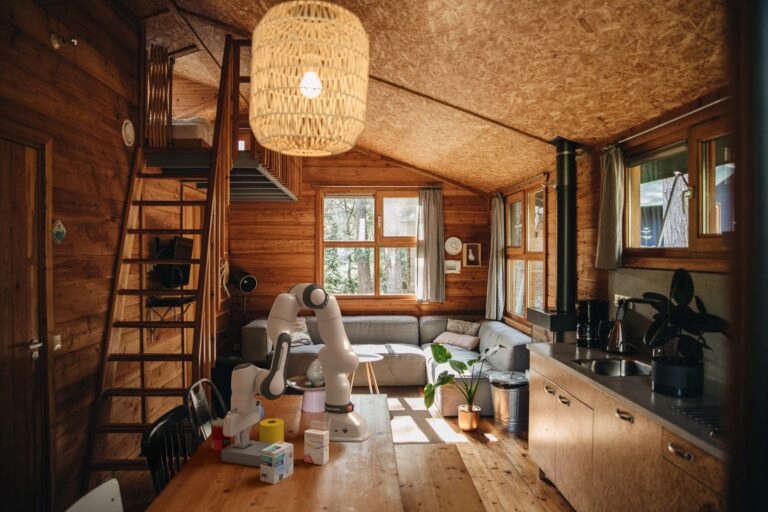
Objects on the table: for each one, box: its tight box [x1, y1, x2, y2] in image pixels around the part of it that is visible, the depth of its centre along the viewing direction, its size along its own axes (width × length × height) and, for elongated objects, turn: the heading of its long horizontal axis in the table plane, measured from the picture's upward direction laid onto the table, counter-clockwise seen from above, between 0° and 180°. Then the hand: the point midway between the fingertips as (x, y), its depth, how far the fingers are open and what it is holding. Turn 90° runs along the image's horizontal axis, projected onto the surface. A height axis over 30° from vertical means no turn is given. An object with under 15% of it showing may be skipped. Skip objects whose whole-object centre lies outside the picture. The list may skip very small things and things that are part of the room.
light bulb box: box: [259, 441, 295, 485], centre depth 173 cm, size 11×7×11 cm, turn 151°
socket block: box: [220, 439, 274, 468], centre depth 190 cm, size 20×13×4 cm, turn 71°
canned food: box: [210, 418, 232, 453], centre depth 200 cm, size 8×8×11 cm
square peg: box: [234, 426, 251, 450], centre depth 192 cm, size 4×4×9 cm
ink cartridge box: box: [303, 420, 330, 466], centre depth 187 cm, size 9×5×15 cm, turn 71°
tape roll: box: [259, 417, 285, 444], centre depth 204 cm, size 10×10×9 cm
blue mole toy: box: [260, 404, 265, 421], centre depth 233 cm, size 12×12×8 cm
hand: (242, 440), depth 192 cm, fingers closed on square peg, 4 cm apart
